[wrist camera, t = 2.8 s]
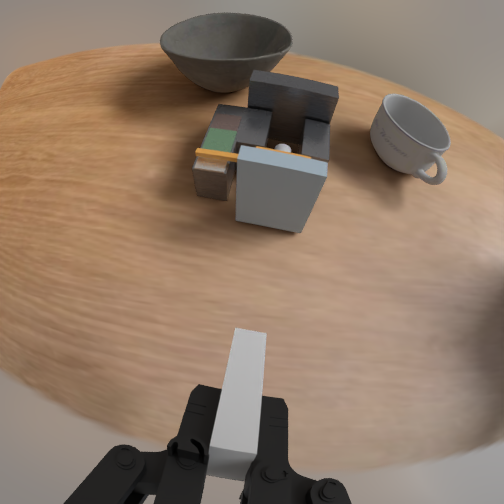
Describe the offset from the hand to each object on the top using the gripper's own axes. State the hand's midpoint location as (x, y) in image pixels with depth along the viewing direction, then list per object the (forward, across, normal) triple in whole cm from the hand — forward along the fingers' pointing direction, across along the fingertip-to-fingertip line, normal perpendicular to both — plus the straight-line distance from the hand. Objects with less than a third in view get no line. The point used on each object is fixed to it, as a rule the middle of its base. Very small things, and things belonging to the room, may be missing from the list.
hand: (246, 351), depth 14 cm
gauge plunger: (+21, 0, +4) cm, 22 cm away
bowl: (+37, -10, +18) cm, 42 cm away
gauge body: (+25, -1, +7) cm, 26 cm away
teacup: (+30, +17, +11) cm, 36 cm away
